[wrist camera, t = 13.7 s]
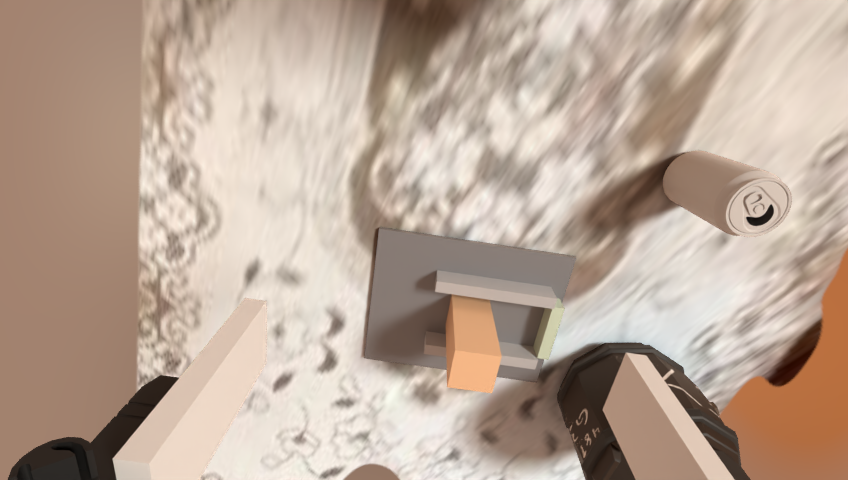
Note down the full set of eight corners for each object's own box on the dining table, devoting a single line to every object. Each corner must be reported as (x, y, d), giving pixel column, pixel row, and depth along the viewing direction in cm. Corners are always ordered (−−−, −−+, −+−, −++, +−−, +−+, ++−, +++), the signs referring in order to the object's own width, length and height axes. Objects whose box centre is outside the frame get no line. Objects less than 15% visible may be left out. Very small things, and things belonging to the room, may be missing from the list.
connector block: (451, 293, 56) (455, 350, 45) (489, 298, 56) (501, 356, 45) (445, 324, 58) (447, 387, 47) (481, 329, 58) (491, 393, 47)
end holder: (379, 227, 53) (375, 237, 50) (574, 256, 54) (583, 268, 50) (365, 355, 61) (360, 372, 57) (535, 379, 61) (541, 397, 58)
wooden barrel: (690, 415, 63) (765, 519, 49) (571, 442, 66) (608, 549, 52) (673, 318, 57) (754, 405, 42) (542, 353, 60) (575, 446, 45)
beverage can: (671, 212, 51) (735, 253, 40) (650, 168, 49) (712, 198, 38) (724, 184, 50) (806, 218, 39) (705, 137, 48) (785, 160, 37)
